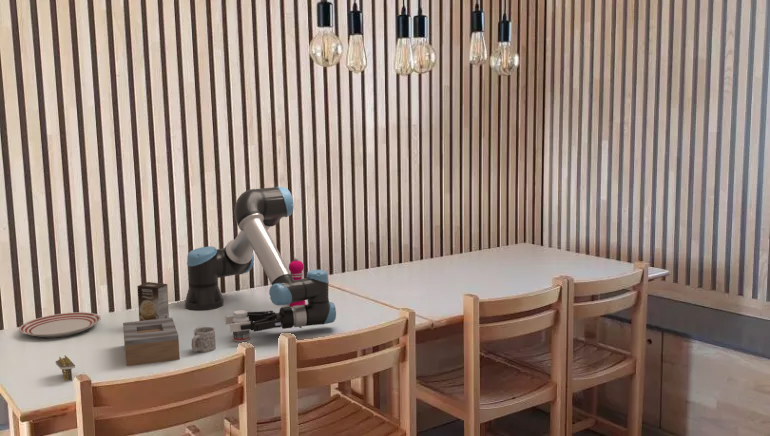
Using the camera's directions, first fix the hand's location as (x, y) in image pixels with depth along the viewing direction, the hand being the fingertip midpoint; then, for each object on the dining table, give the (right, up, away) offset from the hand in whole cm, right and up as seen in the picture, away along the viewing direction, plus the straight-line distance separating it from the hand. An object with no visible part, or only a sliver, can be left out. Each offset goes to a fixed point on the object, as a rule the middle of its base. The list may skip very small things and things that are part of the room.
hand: (227, 324), depth 255 cm
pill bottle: (+4, -6, +2) cm, 8 cm away
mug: (-7, -8, -9) cm, 14 cm away
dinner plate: (-64, -5, +17) cm, 67 cm away
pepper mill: (+18, +1, +47) cm, 50 cm away
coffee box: (-31, -4, +19) cm, 36 cm away
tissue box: (-23, -8, -10) cm, 26 cm away
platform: (-42, -12, -32) cm, 54 cm away
